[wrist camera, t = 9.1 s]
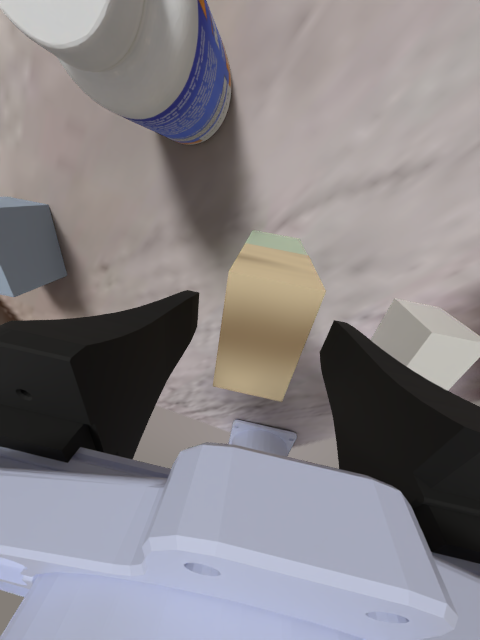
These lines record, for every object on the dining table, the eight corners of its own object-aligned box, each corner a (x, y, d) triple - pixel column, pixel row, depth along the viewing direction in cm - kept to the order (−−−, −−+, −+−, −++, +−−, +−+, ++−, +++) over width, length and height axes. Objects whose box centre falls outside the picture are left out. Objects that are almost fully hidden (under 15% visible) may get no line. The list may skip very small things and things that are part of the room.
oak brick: (280, 342, 15) (281, 401, 11) (230, 331, 15) (212, 386, 11) (308, 255, 12) (325, 291, 8) (245, 242, 12) (228, 271, 8)
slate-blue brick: (67, 275, 21) (14, 297, 17) (33, 268, 21) (-30, 288, 17) (49, 204, 18) (-24, 209, 13) (8, 196, 18) (-76, 198, 14)
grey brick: (398, 363, 21) (430, 408, 16) (361, 355, 21) (383, 398, 16) (438, 306, 17) (491, 344, 13) (394, 297, 18) (431, 332, 13)
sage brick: (279, 309, 19) (280, 342, 15) (240, 301, 20) (230, 332, 15) (299, 238, 16) (307, 255, 12) (253, 229, 16) (244, 243, 12)
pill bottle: (251, 63, 12) (197, -210, 4) (206, 165, 15) (117, 133, 6) (162, -13, 11) (-161, -592, 3) (131, 110, 14) (-84, -10, 6)
